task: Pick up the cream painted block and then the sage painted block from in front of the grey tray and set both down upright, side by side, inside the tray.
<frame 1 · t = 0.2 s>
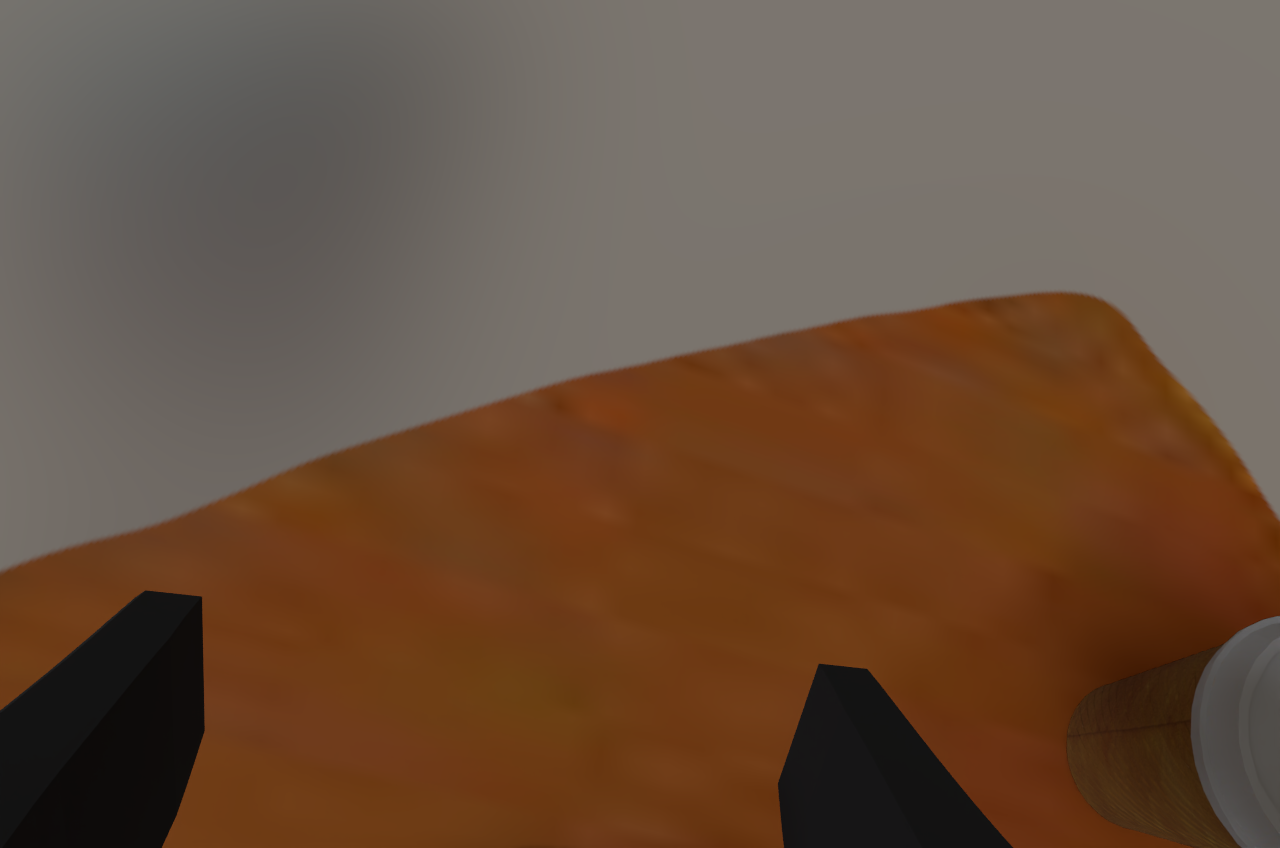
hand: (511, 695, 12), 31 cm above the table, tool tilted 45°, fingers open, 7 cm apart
disposable coffee cup: (1126, 755, 47), on the table
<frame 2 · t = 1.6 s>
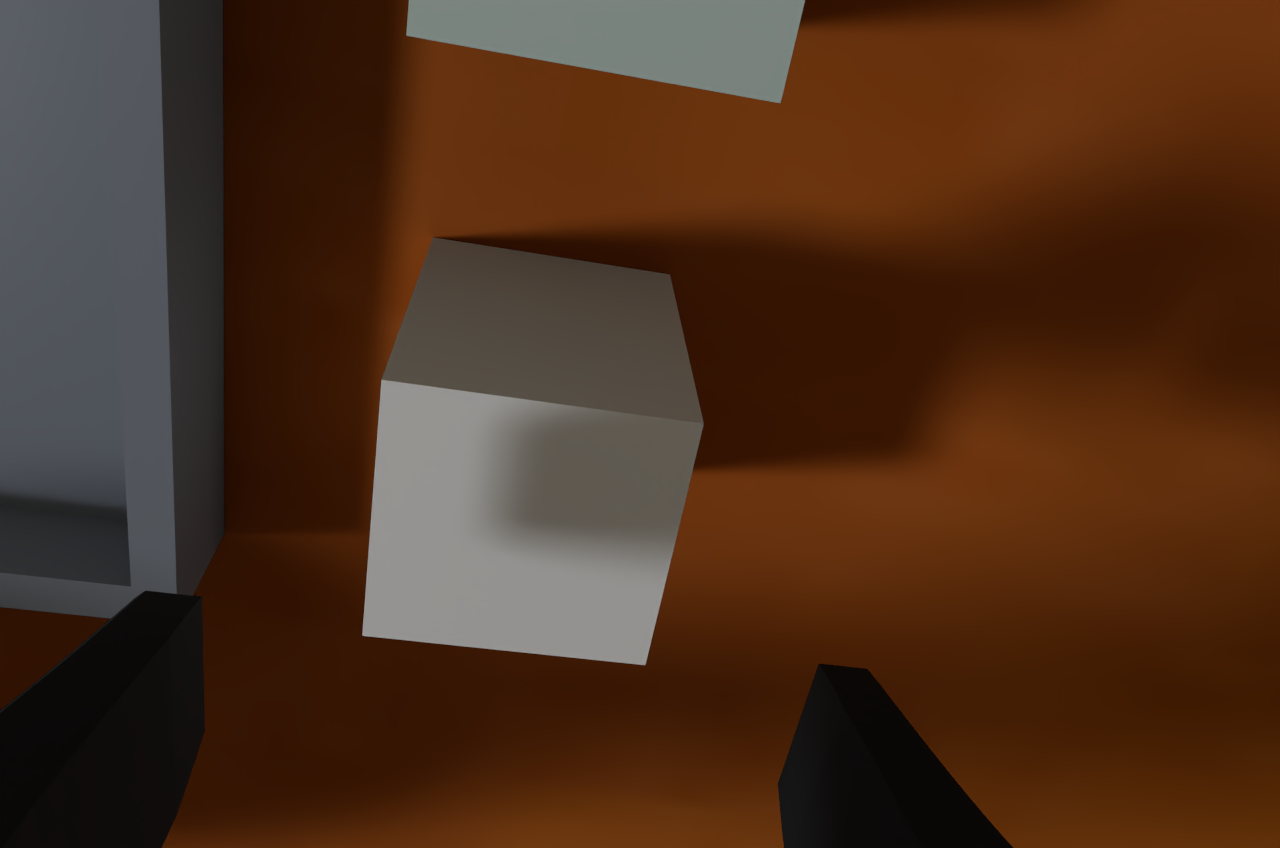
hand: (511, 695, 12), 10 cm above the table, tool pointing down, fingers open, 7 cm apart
cream block: (537, 362, 21), on the table
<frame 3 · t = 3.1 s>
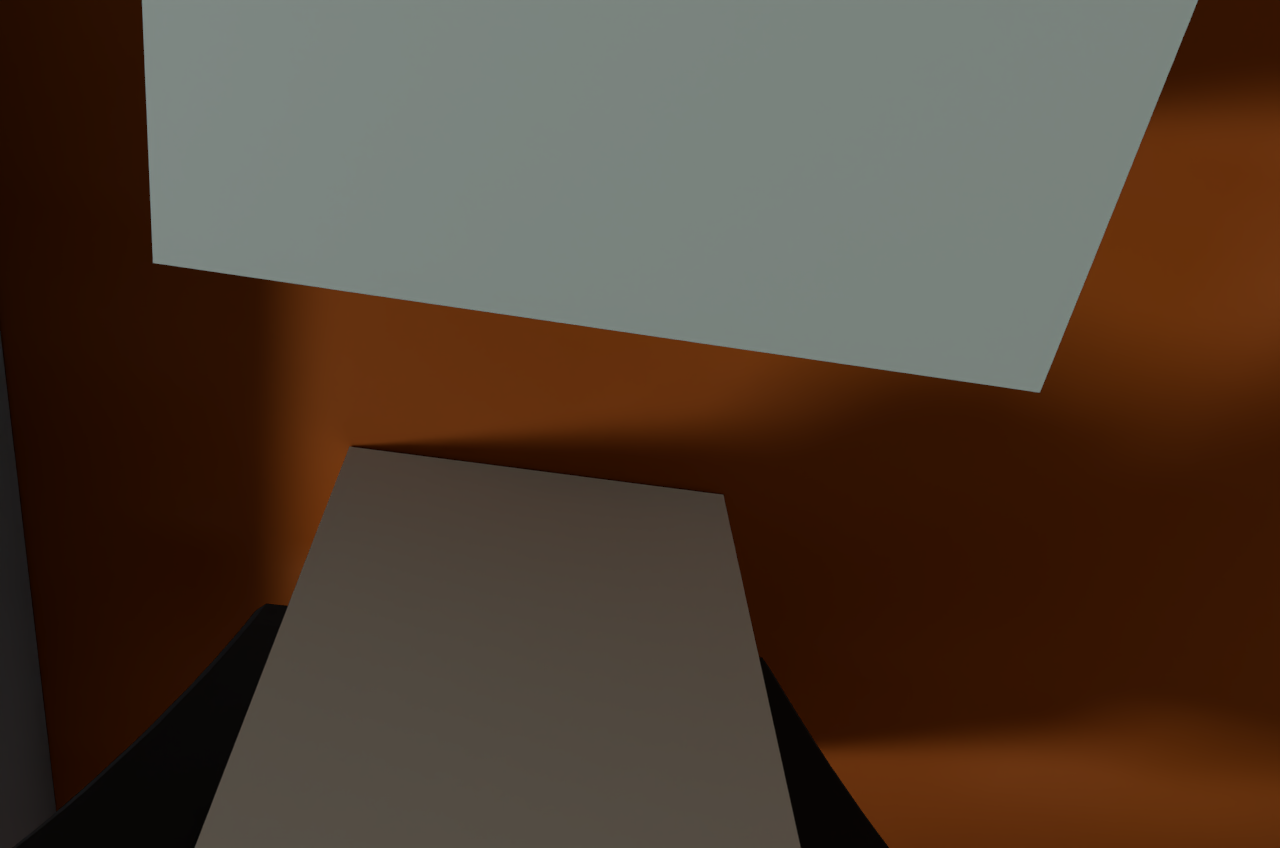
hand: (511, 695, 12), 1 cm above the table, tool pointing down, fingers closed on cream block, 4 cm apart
cream block: (517, 617, 14), on the table, touching gripper
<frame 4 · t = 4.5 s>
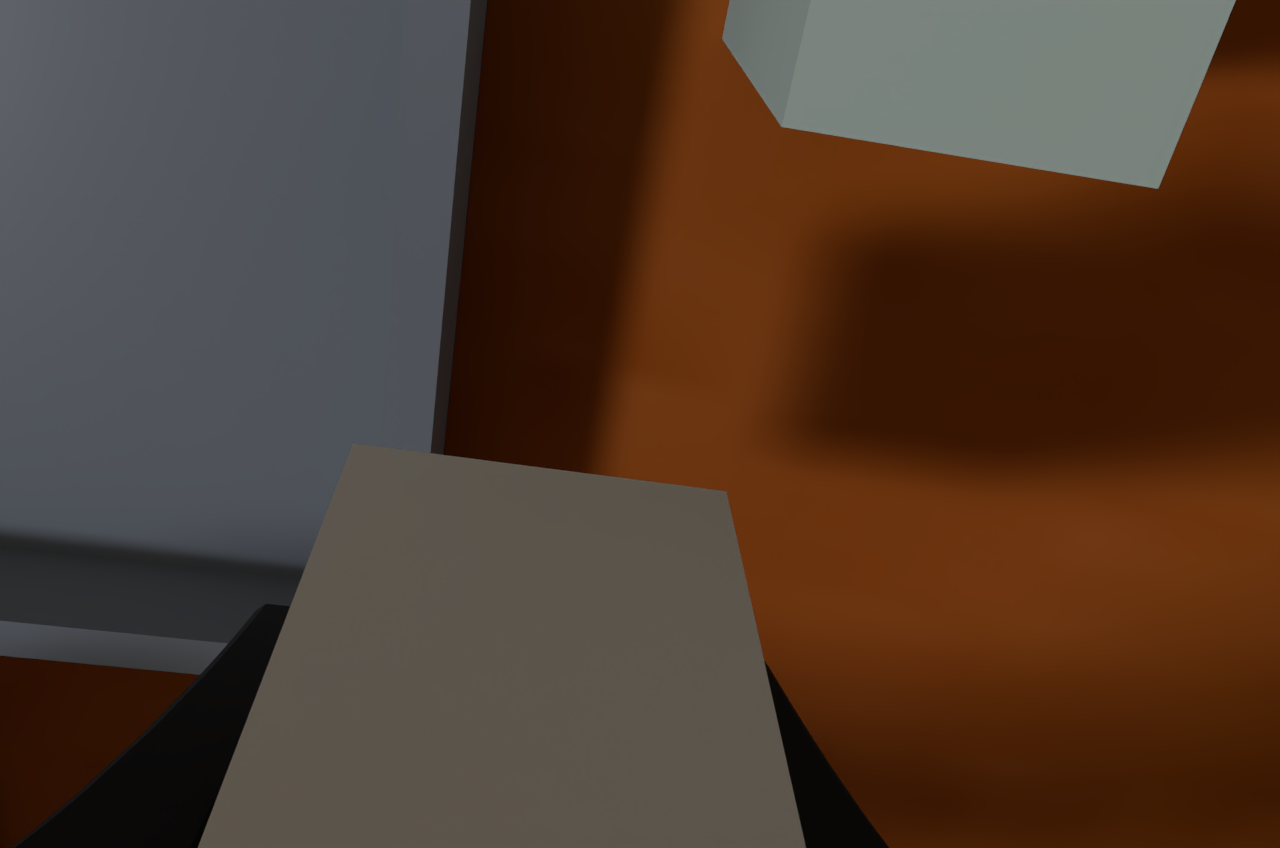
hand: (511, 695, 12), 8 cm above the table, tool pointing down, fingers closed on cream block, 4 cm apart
cream block: (520, 614, 14), point 7 cm above the table, touching gripper
grey tray: (99, 142, 17), on the table
when the fingers open (4 cm above the table, at t = 6.2 s): cream block drops 1 cm, resting on grey tray.
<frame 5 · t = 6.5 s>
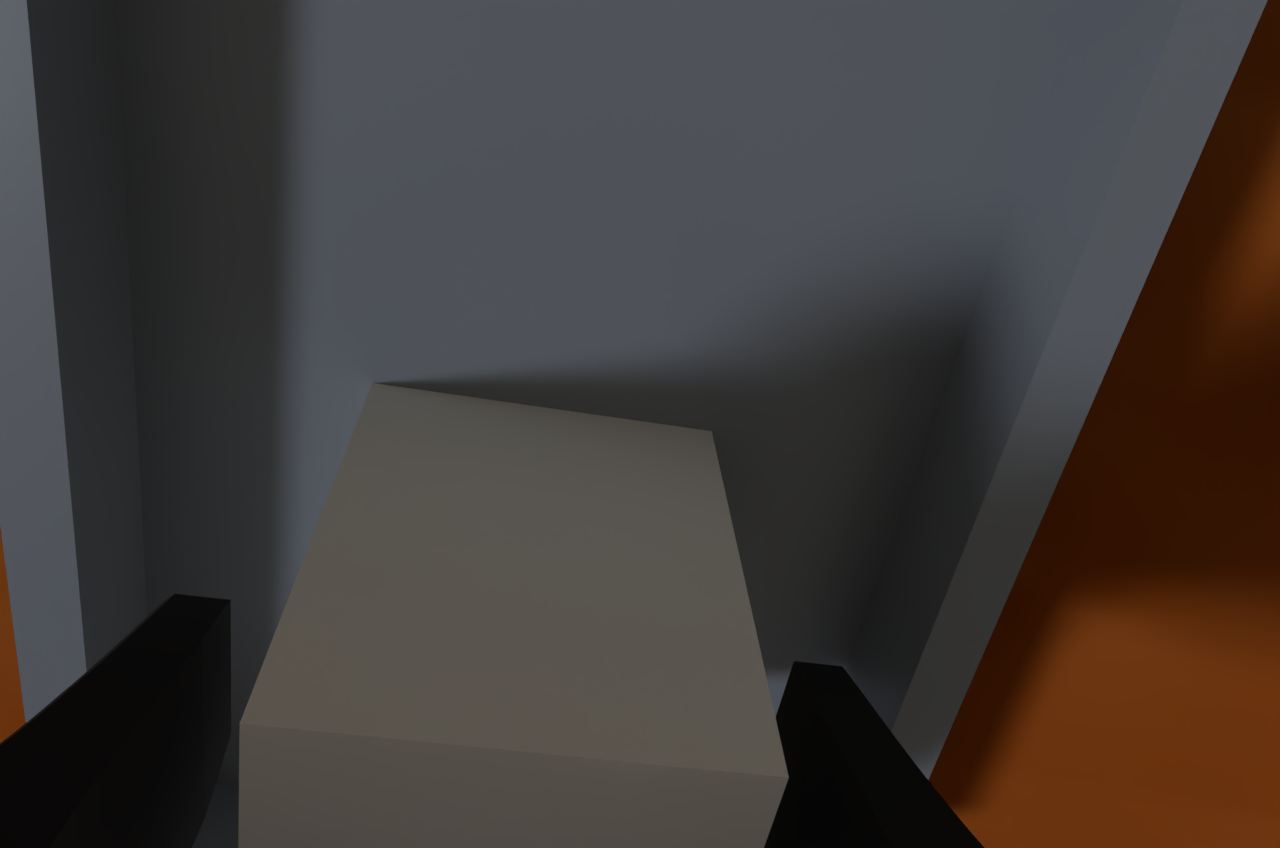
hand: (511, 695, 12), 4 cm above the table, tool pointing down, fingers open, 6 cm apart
cream block: (522, 545, 15), point 1 cm above the table, touching grey tray
grey tray: (549, 363, 15), on the table
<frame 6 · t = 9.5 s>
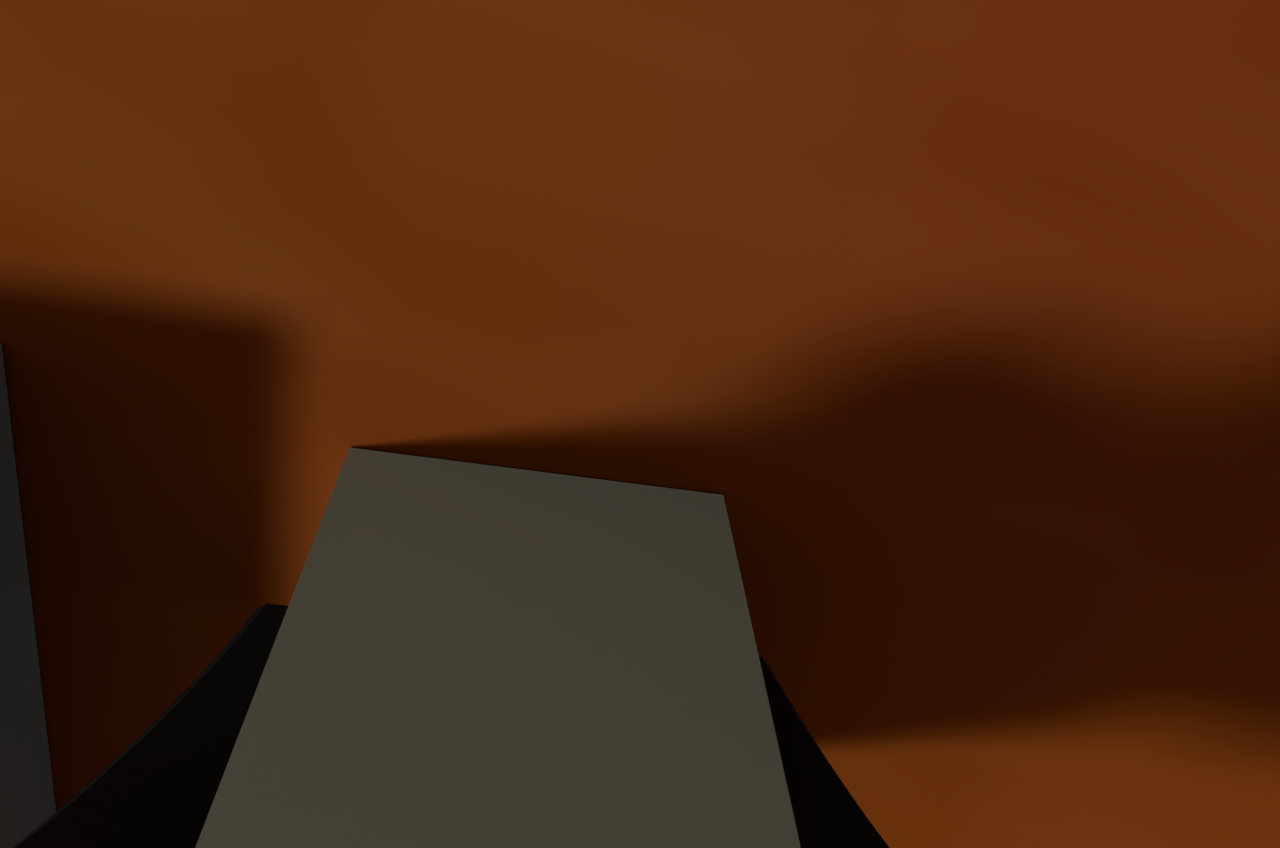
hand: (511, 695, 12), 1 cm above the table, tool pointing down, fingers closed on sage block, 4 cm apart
sage block: (517, 618, 14), on the table, touching gripper
when the fingers open (4 cm above the table, at t = 12.6 s): sage block drops 1 cm, resting on grey tray.
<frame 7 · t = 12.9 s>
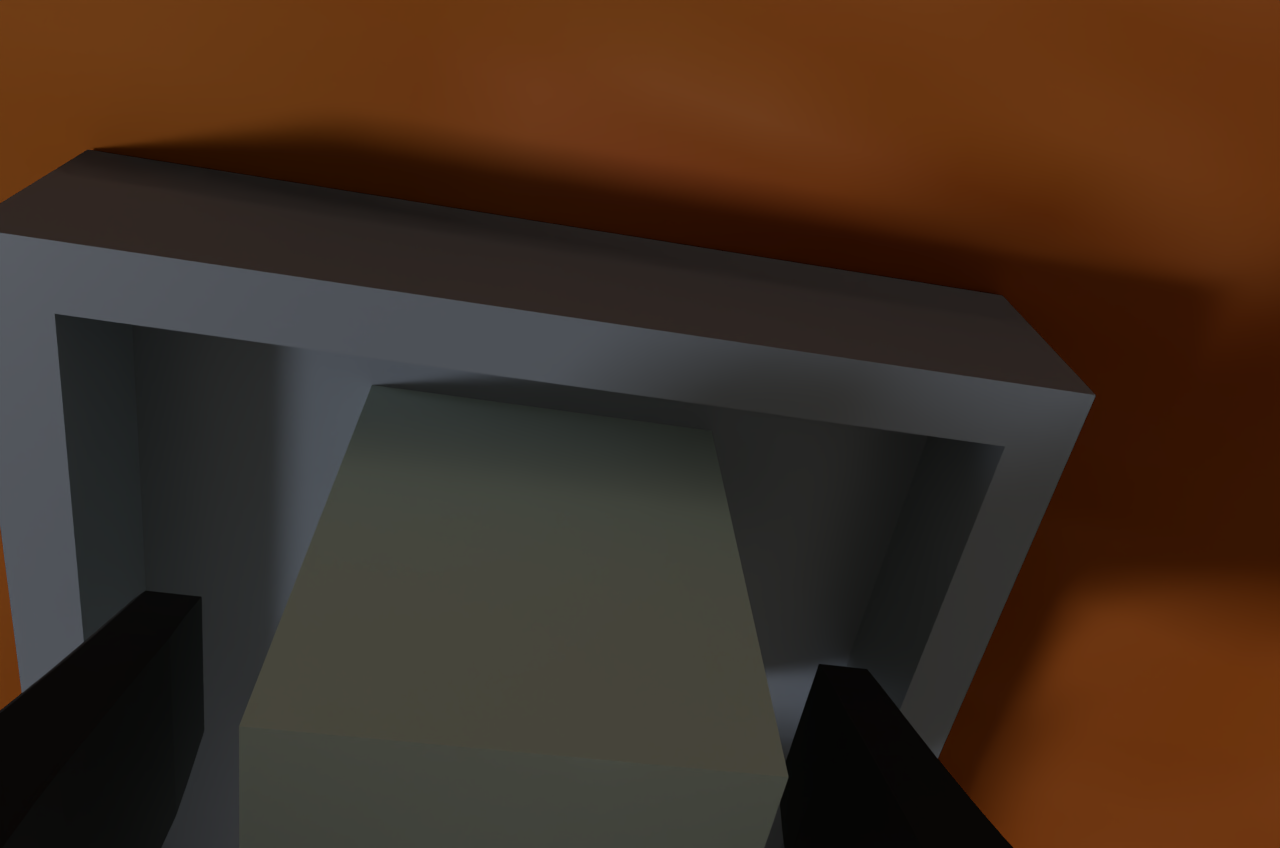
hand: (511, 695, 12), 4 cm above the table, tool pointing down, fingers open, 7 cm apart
sage block: (523, 546, 15), point 1 cm above the table, touching grey tray
grey tray: (496, 708, 18), on the table
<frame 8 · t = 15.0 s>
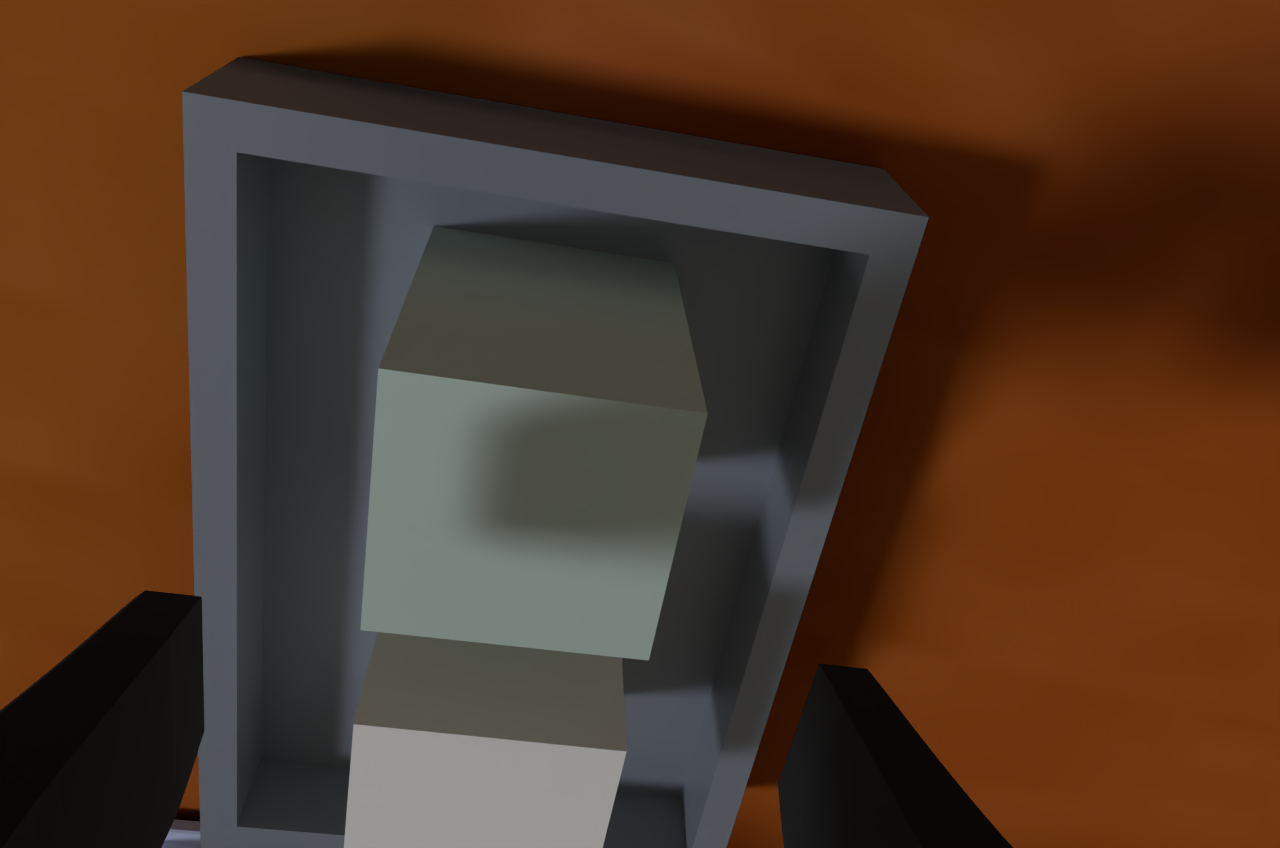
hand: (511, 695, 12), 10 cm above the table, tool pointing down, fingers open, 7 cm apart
sage block: (539, 353, 21), point 1 cm above the table, touching grey tray
cream block: (500, 612, 24), point 1 cm above the table, touching grey tray
grey tray: (516, 498, 23), on the table
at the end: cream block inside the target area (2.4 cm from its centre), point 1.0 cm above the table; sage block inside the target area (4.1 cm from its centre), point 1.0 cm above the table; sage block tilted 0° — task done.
